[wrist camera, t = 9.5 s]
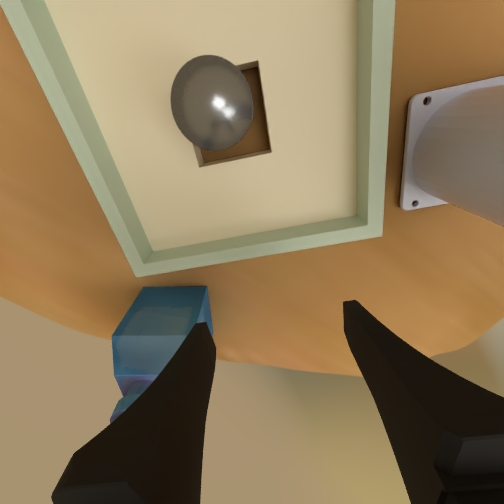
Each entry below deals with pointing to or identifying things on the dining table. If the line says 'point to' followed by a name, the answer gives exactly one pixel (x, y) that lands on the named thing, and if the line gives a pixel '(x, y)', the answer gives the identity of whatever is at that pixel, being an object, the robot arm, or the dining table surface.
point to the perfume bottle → (154, 336)
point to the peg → (211, 102)
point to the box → (189, 155)
